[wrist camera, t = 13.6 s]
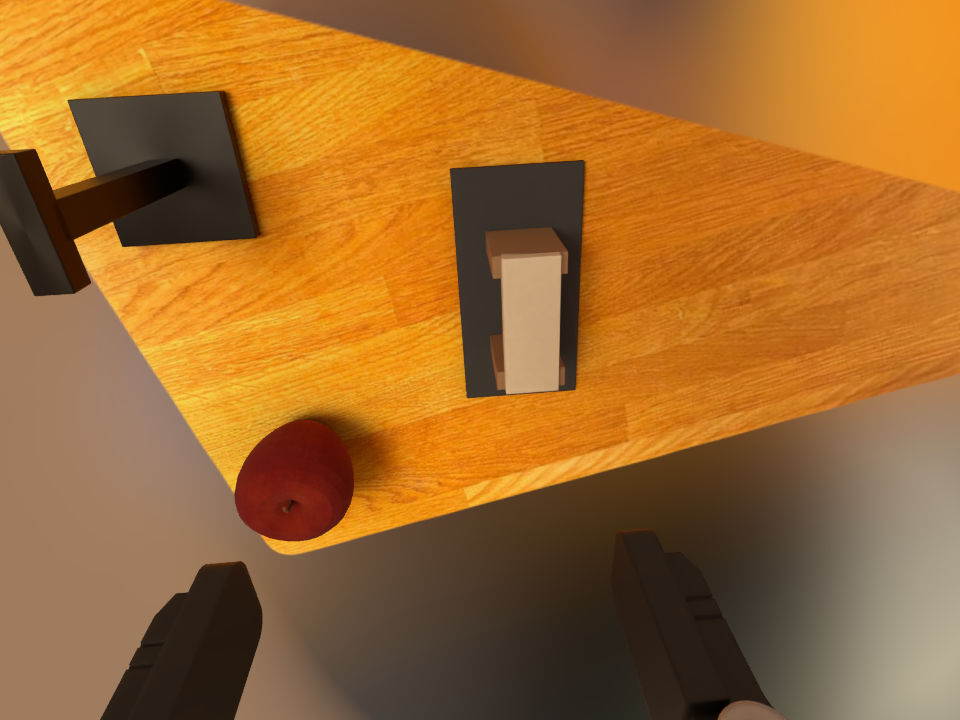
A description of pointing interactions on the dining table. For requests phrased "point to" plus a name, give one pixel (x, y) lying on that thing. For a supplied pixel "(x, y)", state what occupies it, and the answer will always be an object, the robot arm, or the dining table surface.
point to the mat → (507, 206)
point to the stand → (129, 185)
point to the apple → (295, 482)
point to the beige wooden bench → (528, 308)
